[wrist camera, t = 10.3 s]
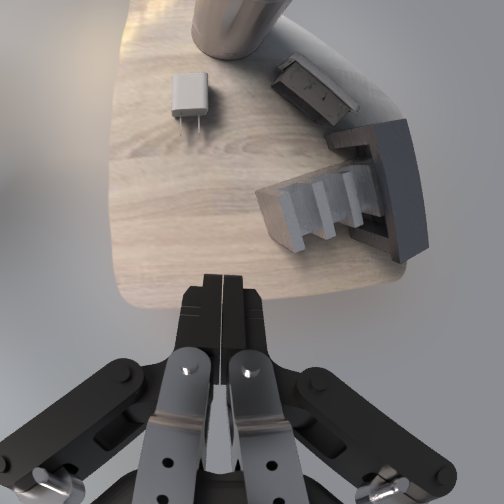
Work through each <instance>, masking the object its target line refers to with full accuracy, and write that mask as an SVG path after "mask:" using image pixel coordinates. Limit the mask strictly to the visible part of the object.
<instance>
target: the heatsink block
mask: <svg viewBox="0 0 504 504" xmlns="http://www.w3.org/2000/svg"><path fill="white" fill-rule="evenodd" d="M255 194H256V197H257V200H258V203H259V206H260V209H261V212H262V215H263V219H264V222H265V225H266V228H267V231H268V234H269V236H270V237H272V238H273V239H275V240H276V241H278V242H279V243H281V244H282V245H284V246H285V247H287V248H288V249H290V250H291V251H292V252H294V253H297V252H299V251H302V250H304V249H306V248H305V245H304V241H303V238H302V236H304V235H306V234H309V233H312V234H315V235H317V236H319V237H321V238H323V239H326V240H328V239H330V238H332V237H335V236H336V233H335V229H334V225H333V223H336V222H339V223H342V224H345V225H348V226H351V227H354V228H356V227H358V226H361V225H363V224H364V223H363V218H362V214H361V212H362V213H367V214H371V215H375V216H379V217H381V216H384V215H385V213H384V207H383V202H382V197H381V192H380V188H379V183H378V179H377V174H376V170H375V166H374V162H373V158H372V157H359V158H355V159H352V160H349V161H345V162H342V163H339V164H335V165H332V166H329V167H326V168H323V169H319V170H316V171H313V172H310V173H307V174H304V175H301V176H298V177H295V178H292V179H289V180H286V181H283V182H280V183H277V184H274V185H271V186H269V187H266V188H263V189H260V190H257V191H255Z"/></svg>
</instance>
